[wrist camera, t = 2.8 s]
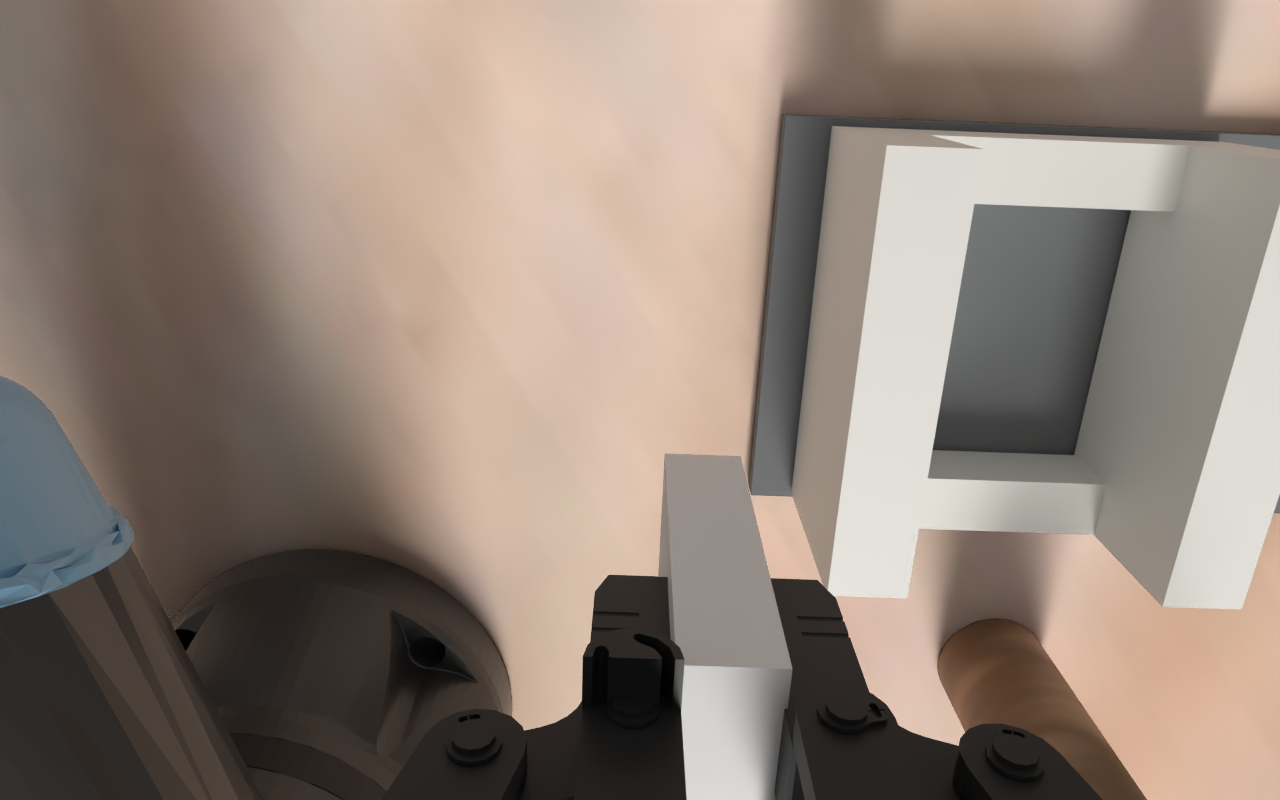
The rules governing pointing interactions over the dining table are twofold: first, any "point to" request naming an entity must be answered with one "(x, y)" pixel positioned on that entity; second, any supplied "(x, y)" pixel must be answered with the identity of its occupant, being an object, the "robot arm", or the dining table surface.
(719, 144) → the dining table surface
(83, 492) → the robot arm
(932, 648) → the dining table surface
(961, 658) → the dowel
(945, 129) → the board
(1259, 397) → the frame block
